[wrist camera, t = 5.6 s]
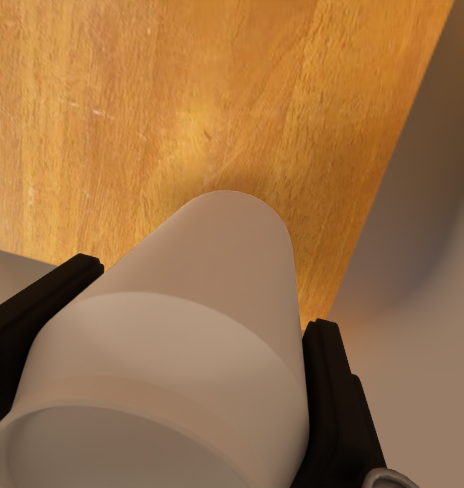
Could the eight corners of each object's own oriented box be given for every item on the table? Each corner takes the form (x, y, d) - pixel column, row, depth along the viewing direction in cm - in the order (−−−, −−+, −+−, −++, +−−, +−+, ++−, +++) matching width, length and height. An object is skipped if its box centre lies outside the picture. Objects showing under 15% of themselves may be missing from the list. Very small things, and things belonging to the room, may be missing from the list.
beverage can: (315, 217, 15) (410, 485, 4) (261, 316, 17) (227, 656, 6) (194, 164, 15) (-52, 287, 4) (157, 271, 17) (-61, 536, 6)
